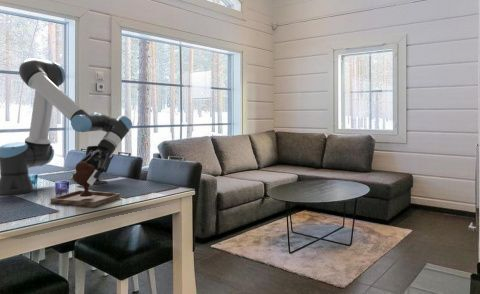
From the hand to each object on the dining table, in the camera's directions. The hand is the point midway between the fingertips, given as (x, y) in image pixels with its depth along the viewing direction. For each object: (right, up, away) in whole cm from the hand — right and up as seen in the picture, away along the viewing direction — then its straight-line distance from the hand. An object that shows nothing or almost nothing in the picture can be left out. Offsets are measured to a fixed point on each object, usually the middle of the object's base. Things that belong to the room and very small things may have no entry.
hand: (80, 182), depth 162 cm
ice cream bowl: (+1, -6, +3) cm, 7 cm away
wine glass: (-10, -5, +44) cm, 45 cm away
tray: (+1, -8, +3) cm, 9 cm away
